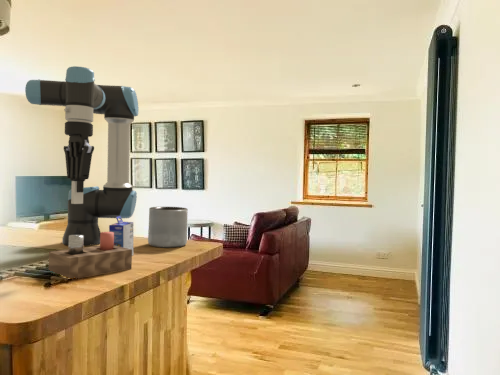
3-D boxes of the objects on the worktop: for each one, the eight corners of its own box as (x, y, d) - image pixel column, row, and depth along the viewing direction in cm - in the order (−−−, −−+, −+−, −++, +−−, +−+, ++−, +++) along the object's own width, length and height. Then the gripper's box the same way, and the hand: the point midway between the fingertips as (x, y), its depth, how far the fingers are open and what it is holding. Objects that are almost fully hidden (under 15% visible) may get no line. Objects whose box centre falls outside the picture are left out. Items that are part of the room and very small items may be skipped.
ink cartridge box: (118, 254, 147) (120, 214, 147) (133, 255, 147) (135, 215, 147) (107, 260, 137) (108, 217, 137) (123, 261, 137) (124, 218, 137)
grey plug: (65, 254, 118) (66, 235, 118) (78, 252, 121) (79, 234, 121) (72, 256, 116) (73, 237, 116) (85, 254, 119) (86, 235, 119)
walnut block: (69, 280, 111) (69, 258, 111) (48, 272, 119) (48, 251, 118) (131, 268, 127) (132, 249, 127) (109, 262, 134) (110, 244, 134)
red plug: (97, 250, 126) (97, 232, 126) (108, 248, 129) (109, 231, 129) (104, 252, 124) (104, 234, 123) (116, 250, 127) (116, 232, 127)
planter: (140, 243, 172) (142, 207, 171) (173, 240, 182) (174, 206, 182) (160, 249, 160) (161, 210, 159) (194, 246, 171) (195, 209, 170)
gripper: (55, 121, 119) (53, 202, 119) (78, 119, 110) (76, 205, 111) (79, 124, 125) (77, 201, 125) (103, 122, 116) (101, 204, 117)
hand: (77, 203), depth 118 cm, fingers closed
